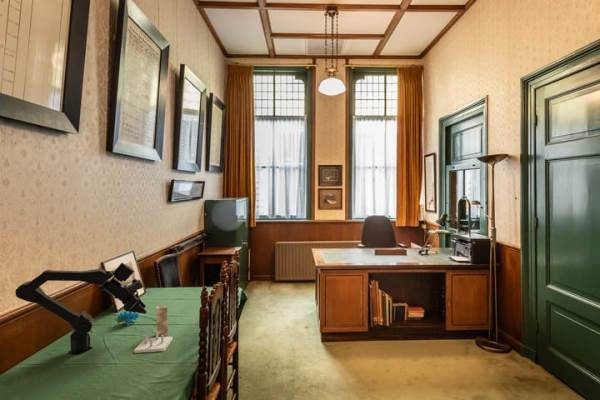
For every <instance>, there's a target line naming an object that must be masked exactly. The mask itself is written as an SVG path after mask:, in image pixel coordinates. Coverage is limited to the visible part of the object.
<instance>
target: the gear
mask: <svg viewBox="0 0 600 400" xmlns="http://www.w3.org/2000/svg"><path fill="white" fill-rule="evenodd" d="M139 315H140V313H136V312H127V311H125V310H124V312H123V313H122V312H120V313H119V314H117V317H115V318H114V321H115V322H116V323H117V324H116V325H117V328H118V327H120V323H123V322H124V323H126V324H125V325H126V327H129V325H130V322H131V323H132V322H133V321H137V319H139V318H140V317H139Z"/></svg>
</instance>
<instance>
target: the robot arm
mask: <svg viewBox="0 0 600 400" xmlns="http://www.w3.org/2000/svg"><path fill="white" fill-rule="evenodd" d="M134 273H135V270H134V269H133V267H131V266H130V265H127V264H125V263H123V262H120V264H119V265H118V266H117V267H116V268H115V270H105V269H103V268H94V269H90V270H81V271H80V270H52V269H45V270H44V271H42V272H41V274H39V275H38V276H36V277H35V278H33V279H32V280H30V281H25V282H23V283H22V284H21V285H19V286H18V287H17V288H16V289H15V297H16V298H18V299H20V300H22V301H25V302H27V303H33V304H37V305H39V306H40V307H42V308H44V309H45V310H46V311H49V312H51V313H52V314H53V315H55V316H57V317H59V318H61V319H62V320H64V321H66V322H67V323H68V324H69V326H70V327H71V328H72V331H71V334H70V335H69V339H70V341H69V342H70V349H69V351H67V353H68V354H74V355H81V354H83V353H85V352H87V351H89V350H91V349H93V347H94V346H91V336H90V333H89V332H91V330H92V329H93V326H94V319H93V317H92V314H89V313H87V312H86V311H85V310H82V312H81V313H80V312H77V311H74V310H72V309H71V308H69V307H67V306H66V305H64V304H62V302H59V301H58V300H56V299H55V298H52V297H51V296H49V295H48V294H46V293H45V291H44V290H43V289H42V288H41V286H42V285H44V284H46V283H47V282H48V281H49V282H51V281H53V282H54V281H58V282H62V281H63V282H82V283H87V284H92V285H98V286H97V287H98V293H99V294H100V293H102V292H103V291H104V290H105V291H106V292H107V293H109V294H110V295H111V296H113V299H115V300H118V301H120V302H121V304H122V305H123V310H124V312H125V311H126V312H127V313H129V312H132V313H133V312H136V314H137V313H138V314H144V315H146V314H147V310H146V309H145V308H146V304H145V303H144V302H143V300H141V298H140V297H139V292H138V290H141V289H143V287H144V285H143V282H142V281H141V279H136V278H134V279H132V281H131V283H130V284H129V285H127V284H122V282H126V281H127V280H128V279H129V278H130V277H131V276H132V275H133V274H134Z"/></svg>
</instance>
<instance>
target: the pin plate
mask: <svg viewBox="0 0 600 400" xmlns="http://www.w3.org/2000/svg"><path fill="white" fill-rule="evenodd" d="M173 339H174V338H173V336H164V335H161V337H158V332H157V331H156V332H155V336H154V337H148V336H147V335H144V339H143V340H141V342H140V343H139V344H138V345H137V347H135V349H134V354H138V353H139V354H140V353H153V352H154V353H155V352H165V351H166V349H167V348H168V346H169V345H170V343H171V342H172V341H173Z"/></svg>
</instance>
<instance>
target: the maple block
mask: <svg viewBox="0 0 600 400" xmlns="http://www.w3.org/2000/svg"><path fill="white" fill-rule="evenodd" d="M155 309H156V310H155V312H156V332H158V337H161V335H164V337H168V336H169V325H168V324H169V323H168V322H169V321H168V320H169V319H168V306H167V304H163V305H157V306H156V307H155Z"/></svg>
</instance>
